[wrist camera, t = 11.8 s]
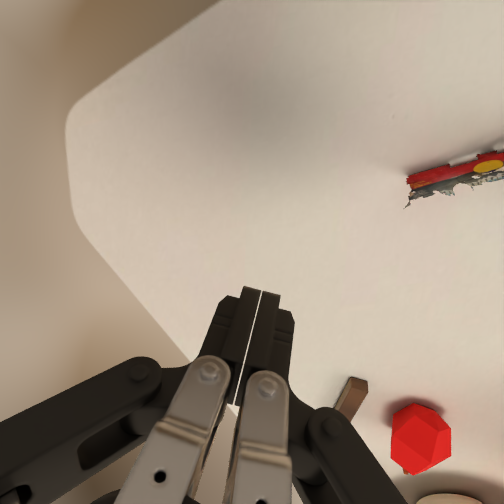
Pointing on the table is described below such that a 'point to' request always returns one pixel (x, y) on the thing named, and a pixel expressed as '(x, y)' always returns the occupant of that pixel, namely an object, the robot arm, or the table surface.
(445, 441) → the apple
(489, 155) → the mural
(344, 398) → the walnut slat
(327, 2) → the table surface
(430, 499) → the bowl
